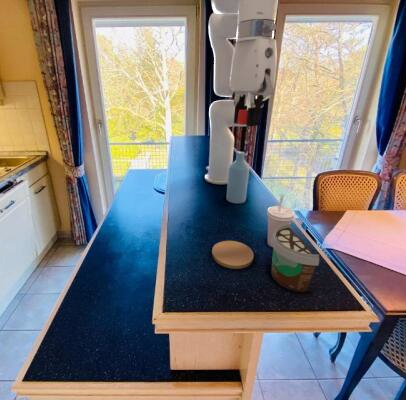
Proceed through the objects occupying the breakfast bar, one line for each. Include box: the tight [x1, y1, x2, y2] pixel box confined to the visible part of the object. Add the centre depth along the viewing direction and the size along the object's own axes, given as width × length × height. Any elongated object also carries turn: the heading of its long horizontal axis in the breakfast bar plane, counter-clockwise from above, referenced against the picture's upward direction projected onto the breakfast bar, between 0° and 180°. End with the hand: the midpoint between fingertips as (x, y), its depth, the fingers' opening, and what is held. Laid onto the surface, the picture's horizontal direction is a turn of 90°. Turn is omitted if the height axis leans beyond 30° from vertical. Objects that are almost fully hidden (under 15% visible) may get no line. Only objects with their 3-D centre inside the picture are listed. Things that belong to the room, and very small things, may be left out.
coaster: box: [211, 240, 255, 270], centre depth 65 cm, size 10×10×1 cm
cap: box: [237, 110, 248, 125], centre depth 62 cm, size 4×4×3 cm
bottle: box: [225, 151, 250, 204], centre depth 91 cm, size 7×7×17 cm
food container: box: [270, 224, 320, 293], centre depth 56 cm, size 12×6×10 cm, turn 4°
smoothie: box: [266, 194, 295, 248], centre depth 66 cm, size 6×6×14 cm
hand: (246, 123), depth 62 cm, fingers closed on cap, 3 cm apart
